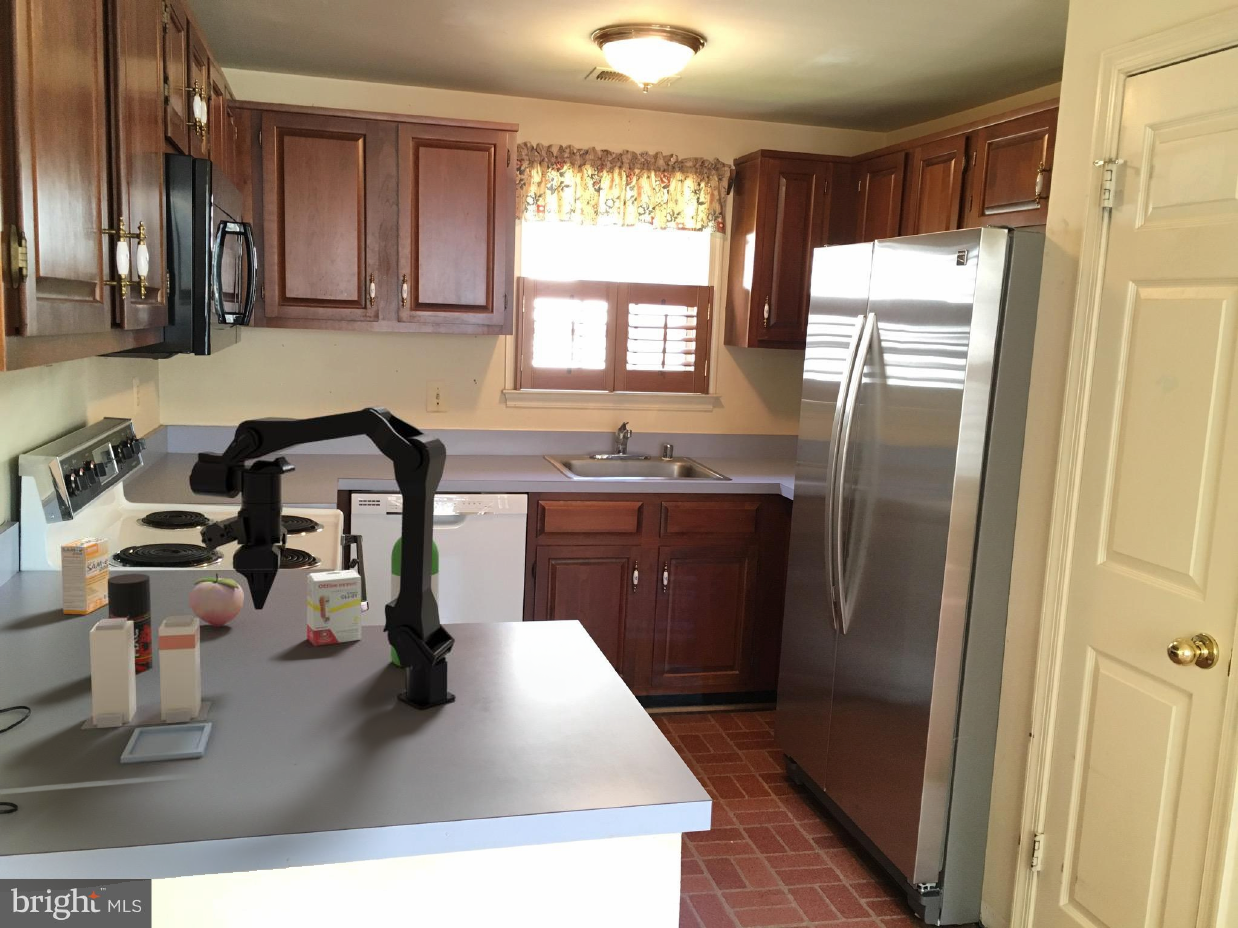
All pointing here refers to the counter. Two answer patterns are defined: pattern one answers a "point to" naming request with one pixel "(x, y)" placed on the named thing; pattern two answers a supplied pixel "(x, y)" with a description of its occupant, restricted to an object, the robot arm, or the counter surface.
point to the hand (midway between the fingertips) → (261, 600)
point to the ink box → (333, 607)
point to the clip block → (147, 717)
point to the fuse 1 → (113, 668)
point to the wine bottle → (396, 579)
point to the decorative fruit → (216, 600)
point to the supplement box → (85, 575)
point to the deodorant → (133, 613)
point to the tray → (167, 743)
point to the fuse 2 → (180, 664)
